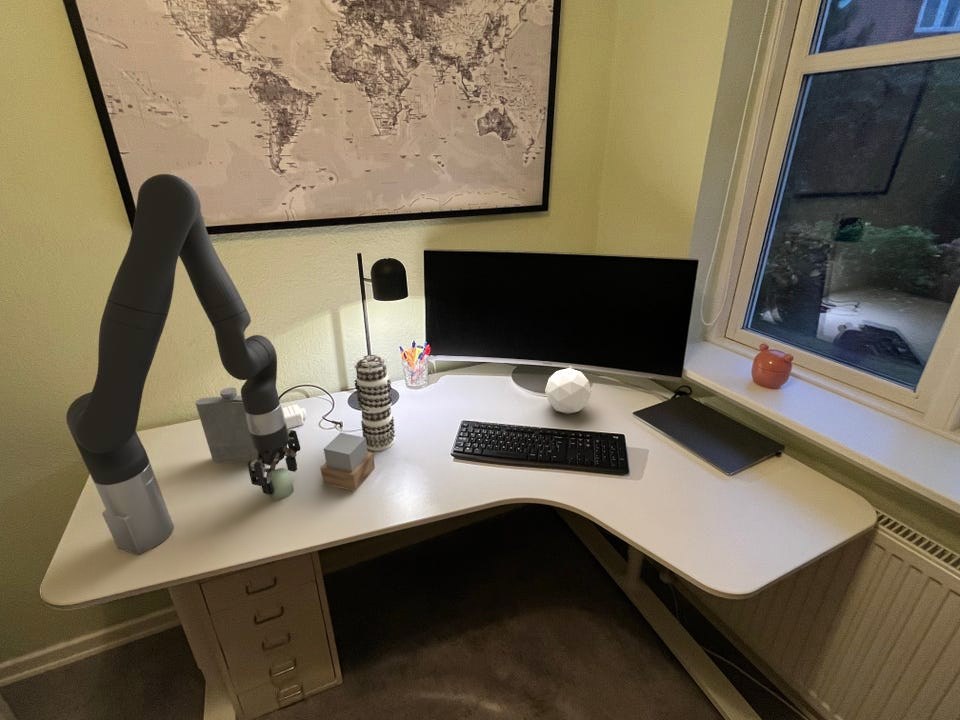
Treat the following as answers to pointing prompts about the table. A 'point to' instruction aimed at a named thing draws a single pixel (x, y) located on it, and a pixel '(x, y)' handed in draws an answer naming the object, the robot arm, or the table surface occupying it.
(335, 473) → the base block
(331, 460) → the gray block
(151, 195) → the robot arm
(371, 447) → the decorative candle
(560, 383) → the geodesic sphere
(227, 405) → the hip flask
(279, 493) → the rounded mint cylinder
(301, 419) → the white bottle
